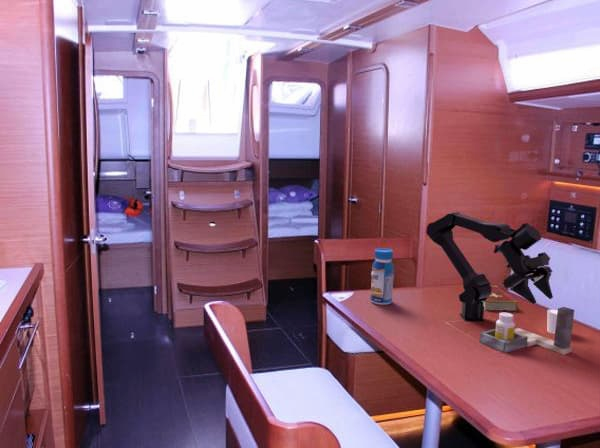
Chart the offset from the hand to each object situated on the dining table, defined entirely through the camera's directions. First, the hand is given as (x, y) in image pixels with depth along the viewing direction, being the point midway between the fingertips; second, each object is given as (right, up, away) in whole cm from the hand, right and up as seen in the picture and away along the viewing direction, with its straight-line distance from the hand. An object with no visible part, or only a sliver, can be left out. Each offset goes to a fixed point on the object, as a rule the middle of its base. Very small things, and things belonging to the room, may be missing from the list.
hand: (543, 300), depth 167 cm
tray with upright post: (-7, -14, -2) cm, 15 cm away
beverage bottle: (-44, -6, +38) cm, 59 cm away
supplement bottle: (-13, -14, -1) cm, 19 cm away
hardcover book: (-1, -7, +42) cm, 43 cm away
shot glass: (+9, -12, +11) cm, 19 cm away
